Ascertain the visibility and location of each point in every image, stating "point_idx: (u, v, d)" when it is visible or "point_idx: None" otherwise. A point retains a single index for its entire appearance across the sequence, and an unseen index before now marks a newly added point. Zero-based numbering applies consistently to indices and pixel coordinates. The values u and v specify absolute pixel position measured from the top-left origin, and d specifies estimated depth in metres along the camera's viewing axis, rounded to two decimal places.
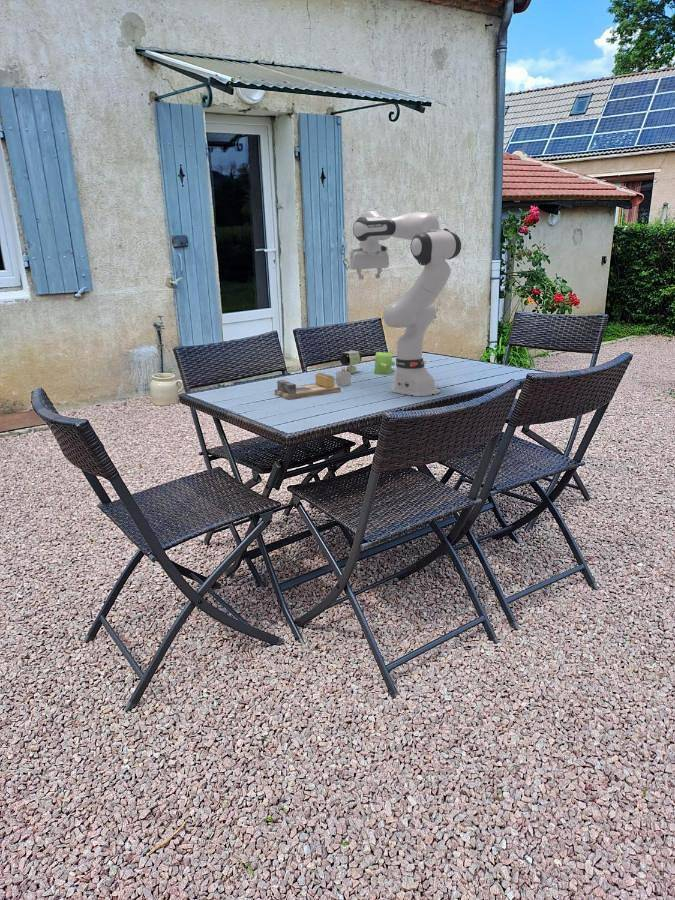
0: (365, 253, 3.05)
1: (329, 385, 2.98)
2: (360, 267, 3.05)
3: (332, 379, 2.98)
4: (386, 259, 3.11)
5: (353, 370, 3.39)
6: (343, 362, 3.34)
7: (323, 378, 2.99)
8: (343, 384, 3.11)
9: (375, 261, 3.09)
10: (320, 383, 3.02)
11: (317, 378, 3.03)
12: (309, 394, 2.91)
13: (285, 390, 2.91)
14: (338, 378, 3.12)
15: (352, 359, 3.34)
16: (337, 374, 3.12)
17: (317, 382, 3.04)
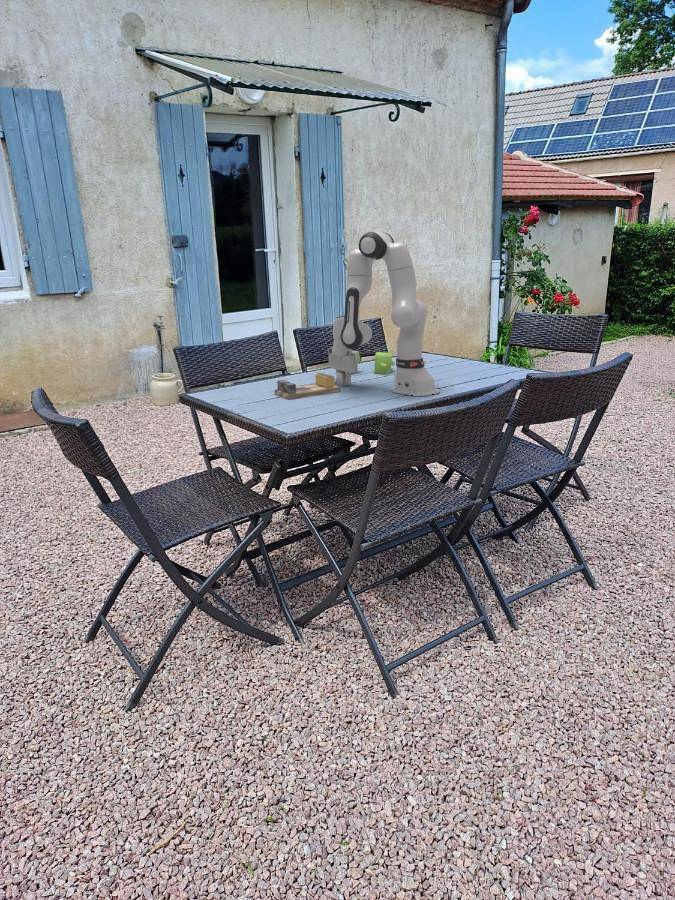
0: None
1: (329, 385, 2.98)
2: None
3: (332, 379, 2.98)
4: None
5: None
6: None
7: (323, 378, 2.99)
8: (343, 384, 3.11)
9: None
10: (320, 383, 3.02)
11: (317, 378, 3.03)
12: (309, 394, 2.91)
13: (285, 390, 2.91)
14: (338, 378, 3.12)
15: None
16: (337, 374, 3.12)
17: (317, 382, 3.04)
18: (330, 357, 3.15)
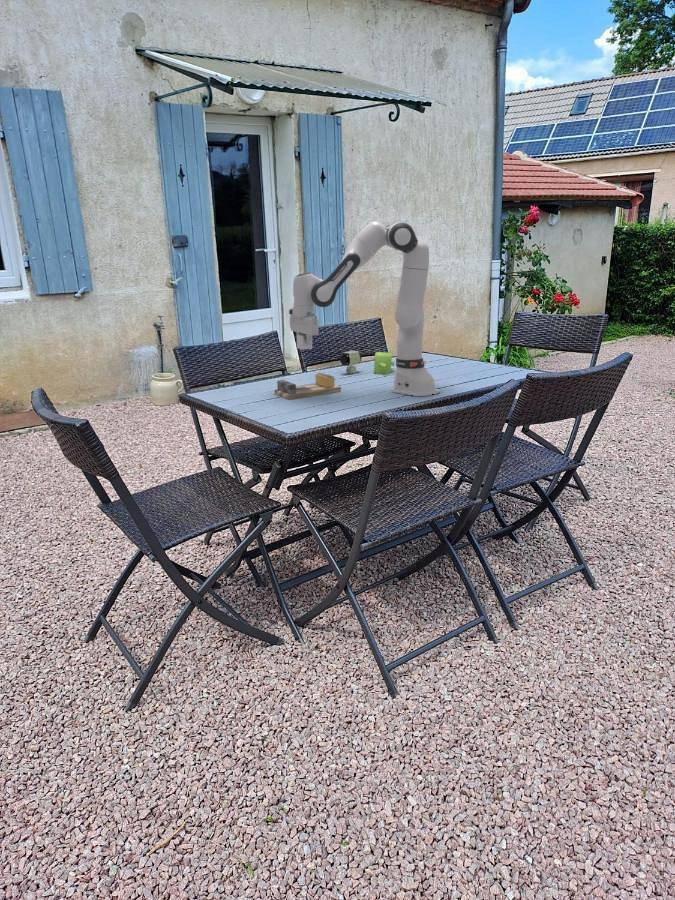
0: None
1: (329, 385, 2.98)
2: None
3: (332, 379, 2.98)
4: None
5: (353, 370, 3.39)
6: (343, 362, 3.34)
7: (323, 378, 2.99)
8: (304, 347, 2.91)
9: None
10: (320, 383, 3.02)
11: (317, 378, 3.03)
12: (309, 394, 2.91)
13: (285, 390, 2.91)
14: (299, 341, 2.92)
15: (352, 359, 3.34)
16: (298, 337, 2.92)
17: (317, 382, 3.04)
18: (291, 319, 2.95)
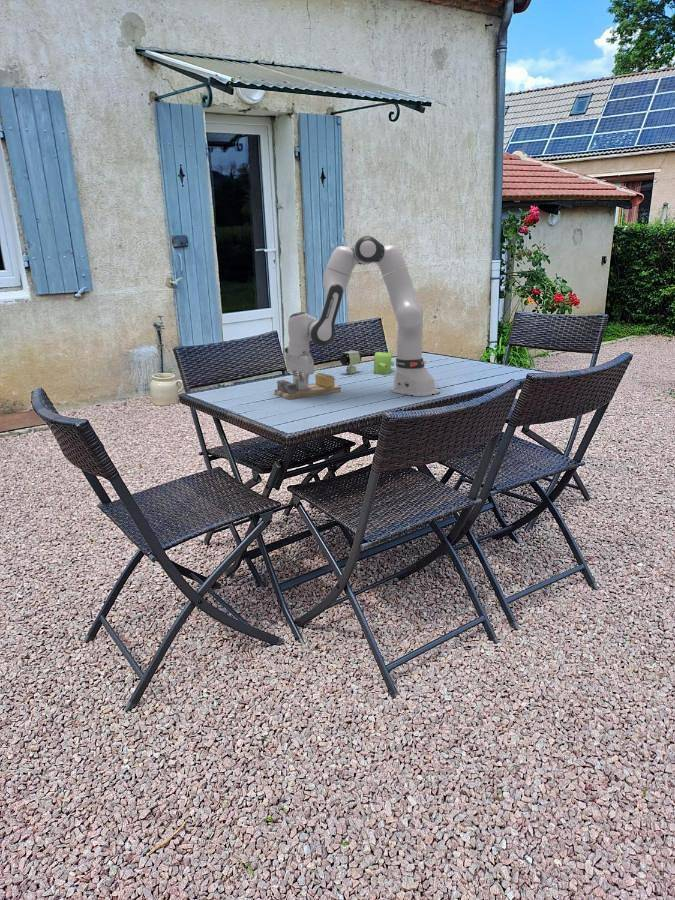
0: None
1: (329, 385, 2.98)
2: None
3: (332, 379, 2.98)
4: None
5: (353, 370, 3.39)
6: (343, 362, 3.34)
7: (323, 378, 2.99)
8: (300, 388, 2.93)
9: None
10: (320, 383, 3.02)
11: (317, 378, 3.03)
12: (309, 394, 2.91)
13: (285, 390, 2.91)
14: (295, 382, 2.95)
15: (352, 359, 3.34)
16: (294, 378, 2.95)
17: (317, 382, 3.04)
18: (287, 357, 2.98)
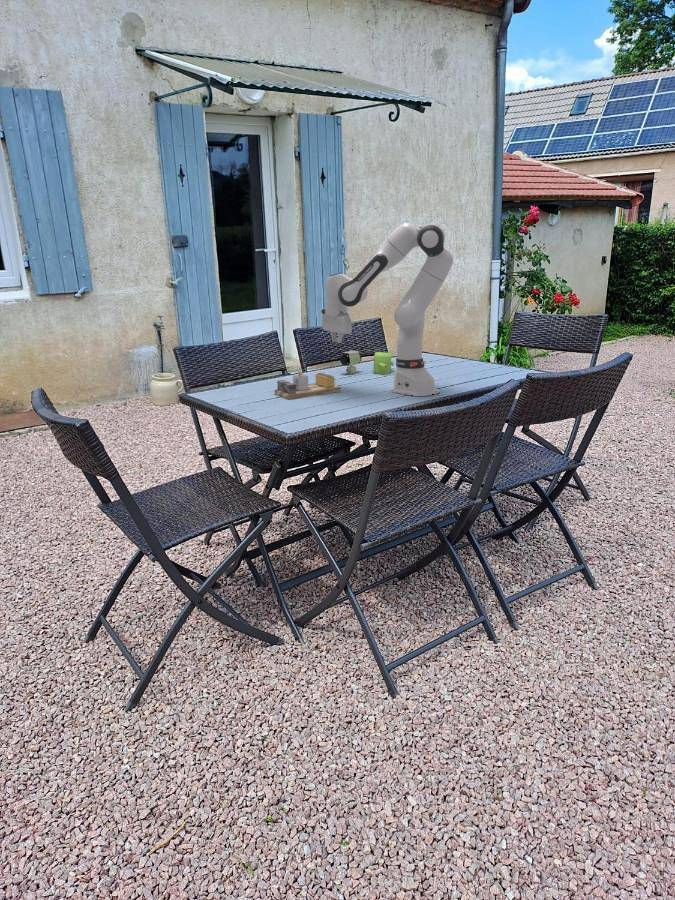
0: None
1: (329, 385, 2.98)
2: None
3: (332, 379, 2.98)
4: None
5: (353, 370, 3.39)
6: (343, 362, 3.34)
7: (323, 378, 2.99)
8: (300, 388, 2.93)
9: None
10: (320, 383, 3.02)
11: (317, 378, 3.03)
12: (309, 394, 2.91)
13: (285, 390, 2.91)
14: (295, 382, 2.95)
15: (352, 359, 3.34)
16: (294, 378, 2.95)
17: (317, 382, 3.04)
18: (323, 318, 3.03)
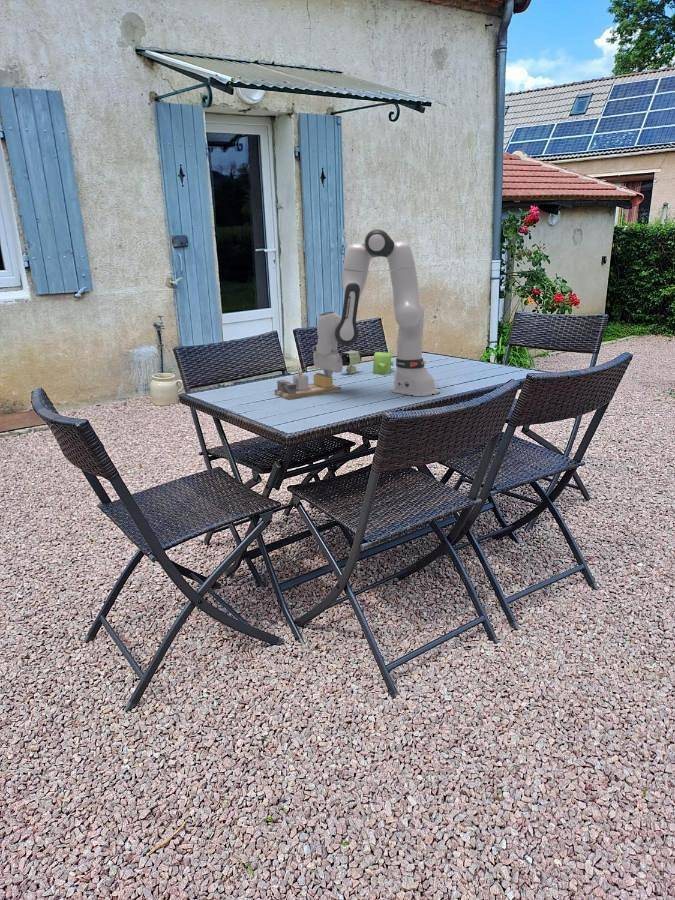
0: None
1: (327, 385, 2.97)
2: None
3: (330, 379, 2.98)
4: None
5: (353, 370, 3.39)
6: (343, 362, 3.34)
7: (321, 379, 2.98)
8: (300, 388, 2.93)
9: None
10: (318, 383, 3.01)
11: (315, 378, 3.03)
12: (309, 394, 2.91)
13: (285, 390, 2.91)
14: (295, 382, 2.95)
15: (352, 359, 3.34)
16: (294, 378, 2.95)
17: (315, 382, 3.04)
18: (315, 355, 3.05)
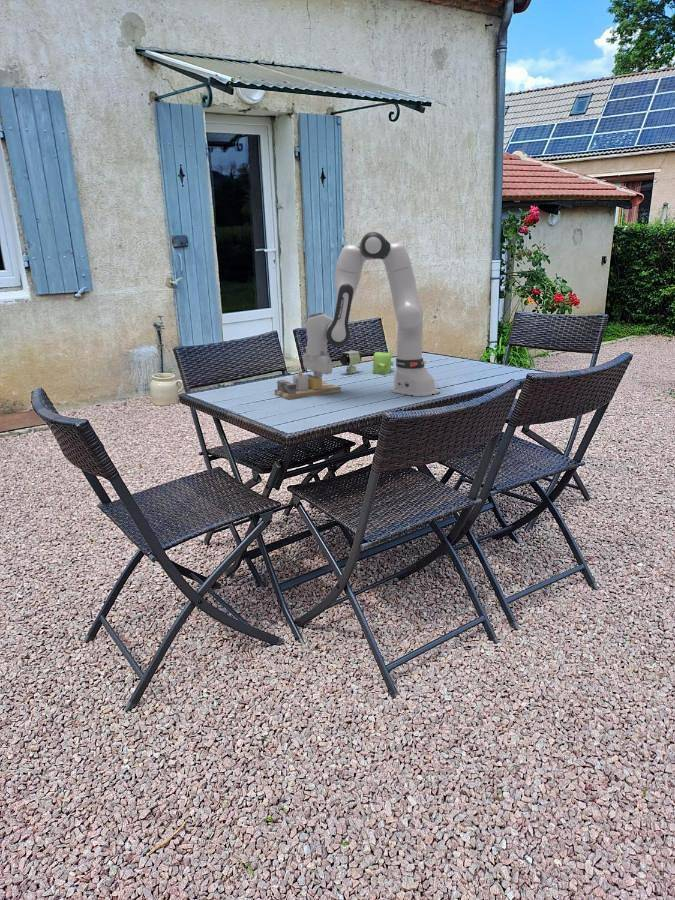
0: None
1: (317, 387, 2.95)
2: None
3: (320, 381, 2.95)
4: None
5: (353, 370, 3.39)
6: (343, 362, 3.34)
7: (311, 380, 2.96)
8: (300, 388, 2.93)
9: None
10: None
11: None
12: (309, 394, 2.91)
13: (285, 390, 2.91)
14: (295, 382, 2.95)
15: (352, 359, 3.34)
16: (294, 378, 2.95)
17: None
18: (304, 357, 3.03)
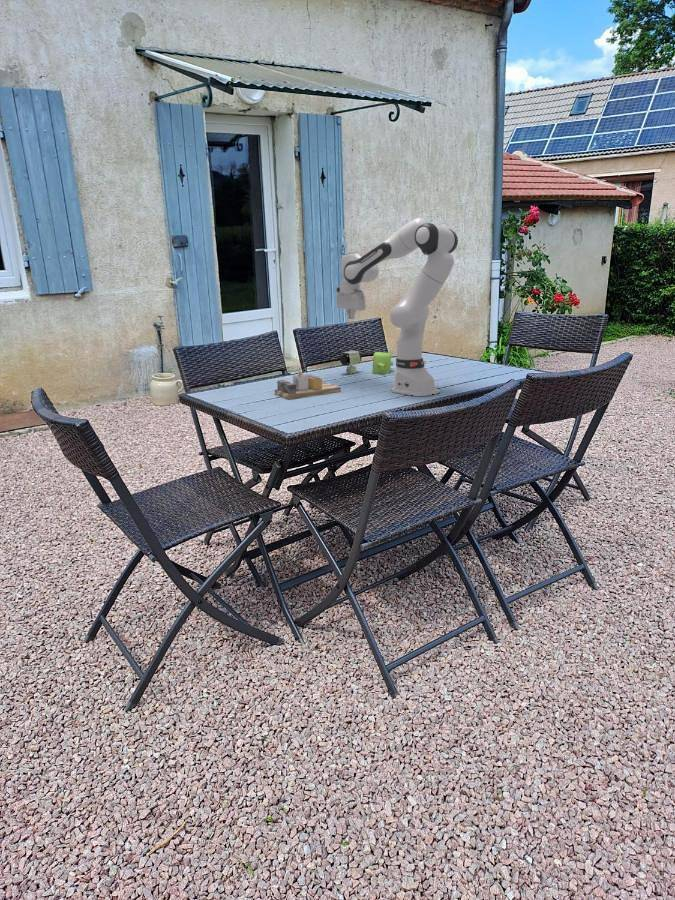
0: None
1: (317, 387, 2.95)
2: None
3: (320, 381, 2.95)
4: None
5: (353, 370, 3.39)
6: (343, 362, 3.34)
7: (311, 380, 2.96)
8: (300, 388, 2.93)
9: None
10: None
11: None
12: (309, 394, 2.91)
13: (285, 390, 2.91)
14: (295, 382, 2.95)
15: (352, 359, 3.34)
16: (294, 378, 2.95)
17: None
18: (338, 296, 3.19)
